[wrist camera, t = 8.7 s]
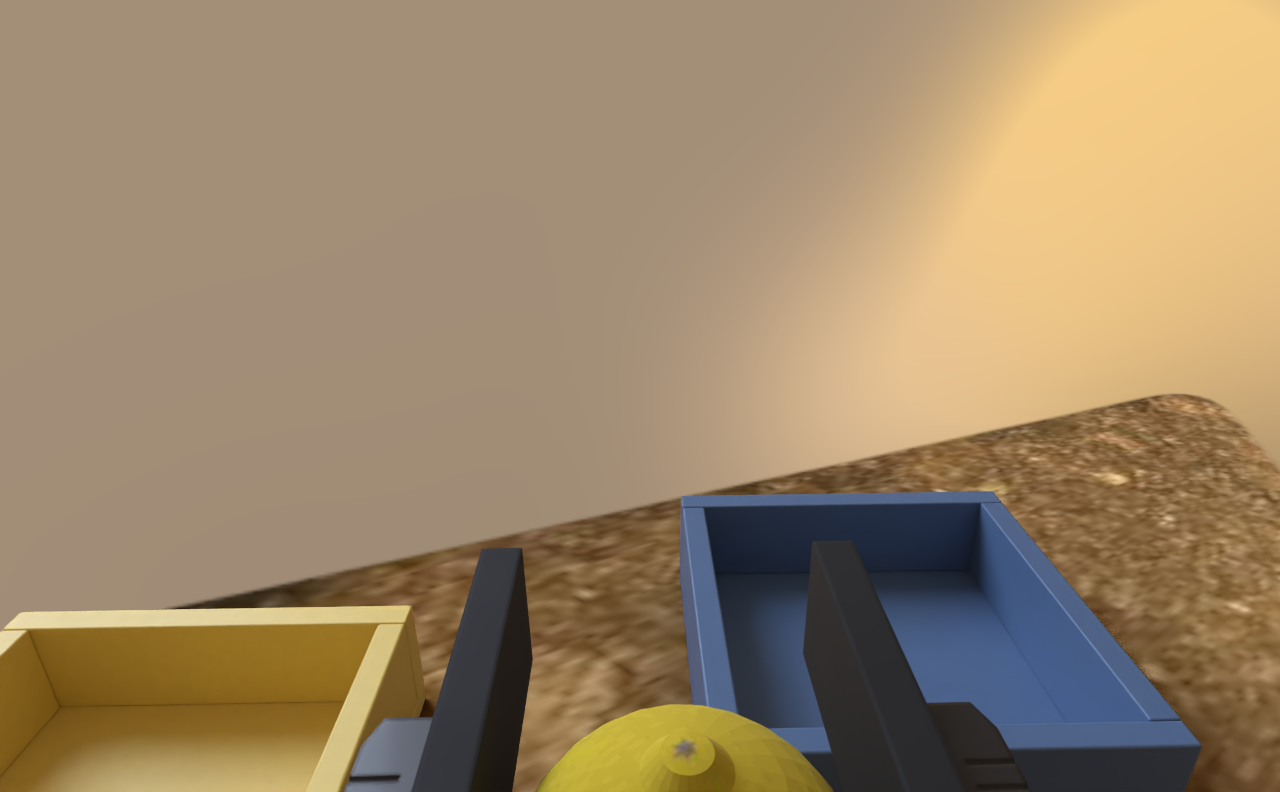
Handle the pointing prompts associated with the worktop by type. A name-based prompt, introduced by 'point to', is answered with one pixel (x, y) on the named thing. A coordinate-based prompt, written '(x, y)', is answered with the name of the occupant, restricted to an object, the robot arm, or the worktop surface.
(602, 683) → the worktop surface
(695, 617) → the blue bin
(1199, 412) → the worktop surface
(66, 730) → the yellow bin
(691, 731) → the lemon
